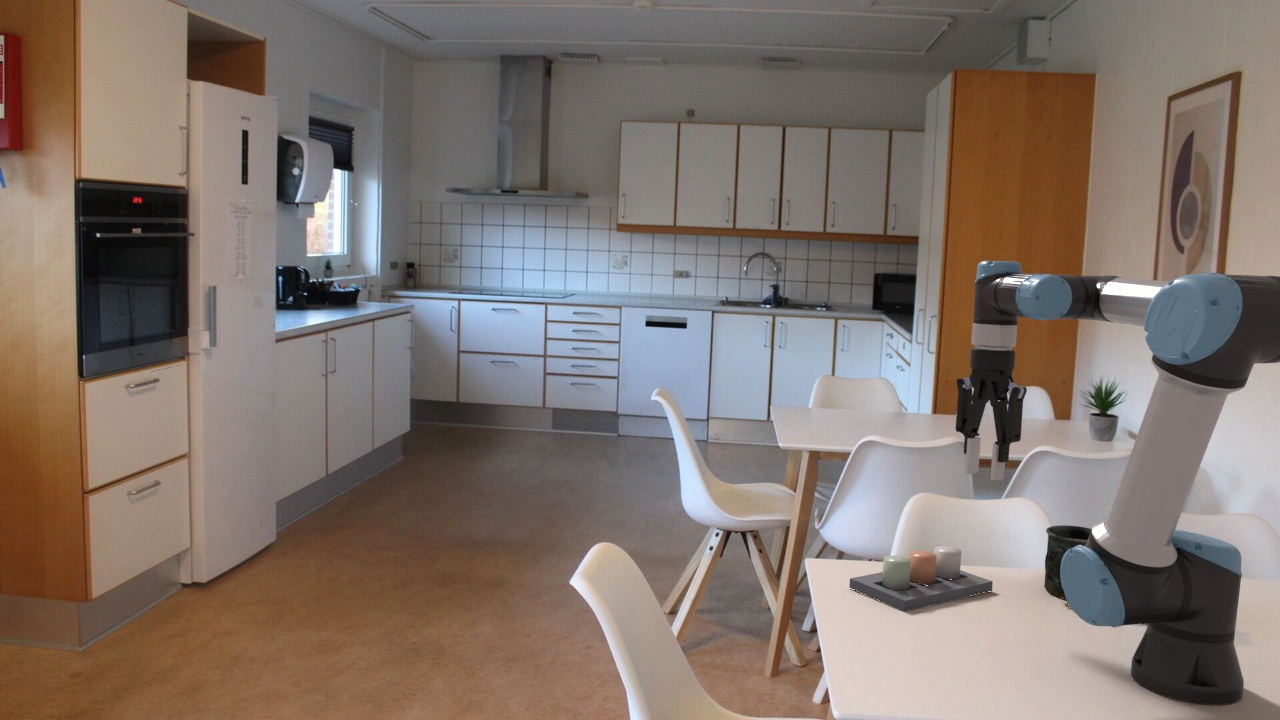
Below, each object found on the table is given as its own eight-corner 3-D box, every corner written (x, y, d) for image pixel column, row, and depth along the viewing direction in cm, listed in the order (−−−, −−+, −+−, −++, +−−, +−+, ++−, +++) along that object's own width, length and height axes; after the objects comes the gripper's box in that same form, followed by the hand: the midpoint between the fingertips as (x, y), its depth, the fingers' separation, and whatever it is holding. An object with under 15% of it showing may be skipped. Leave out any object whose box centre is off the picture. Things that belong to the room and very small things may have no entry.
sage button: (915, 587, 191) (916, 561, 191) (896, 591, 189) (897, 564, 188) (895, 579, 196) (896, 554, 195) (876, 583, 193) (878, 557, 192)
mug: (1114, 596, 196) (1119, 535, 195) (1072, 610, 188) (1077, 546, 187) (1062, 580, 205) (1067, 522, 204) (1019, 592, 197) (1024, 532, 195)
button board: (991, 591, 197) (992, 581, 197) (904, 611, 184) (904, 600, 184) (935, 571, 208) (936, 561, 208) (849, 588, 196) (849, 578, 195)
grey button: (965, 576, 199) (966, 551, 198) (947, 580, 196) (949, 555, 196) (945, 569, 203) (946, 544, 203) (927, 572, 200) (929, 548, 200)
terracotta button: (940, 581, 195) (942, 556, 195) (922, 585, 193) (924, 559, 192) (920, 574, 199) (922, 549, 199) (902, 578, 197) (904, 552, 196)
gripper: (1050, 352, 176) (1040, 484, 179) (966, 342, 191) (958, 464, 194) (1022, 353, 172) (1012, 488, 175) (939, 343, 187) (931, 468, 190)
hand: (984, 475), depth 184 cm, fingers open, 5 cm apart
